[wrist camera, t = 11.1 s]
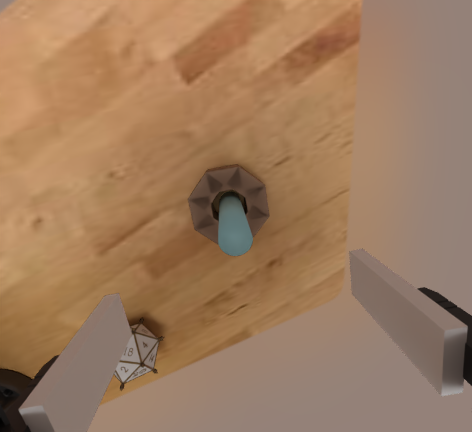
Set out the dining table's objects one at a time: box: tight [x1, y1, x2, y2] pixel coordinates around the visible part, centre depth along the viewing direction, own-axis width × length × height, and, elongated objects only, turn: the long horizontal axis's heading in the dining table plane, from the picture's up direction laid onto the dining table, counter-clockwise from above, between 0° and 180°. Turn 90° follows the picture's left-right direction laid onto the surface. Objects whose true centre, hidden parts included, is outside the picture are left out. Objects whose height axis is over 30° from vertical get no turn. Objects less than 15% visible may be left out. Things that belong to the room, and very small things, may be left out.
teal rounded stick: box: [218, 191, 253, 256], centre depth 31 cm, size 3×3×16 cm
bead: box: [188, 164, 269, 245], centre depth 37 cm, size 10×10×4 cm
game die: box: [114, 317, 164, 391], centre depth 40 cm, size 9×8×10 cm
